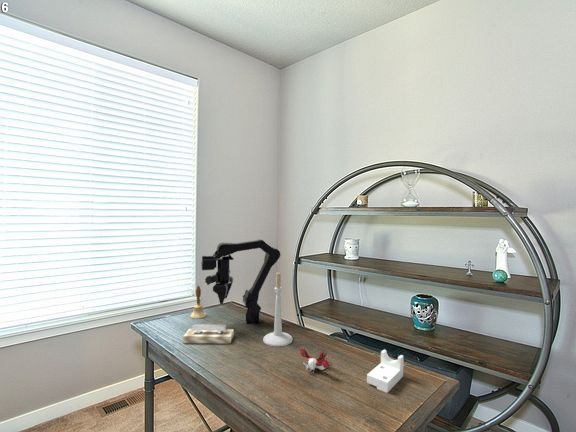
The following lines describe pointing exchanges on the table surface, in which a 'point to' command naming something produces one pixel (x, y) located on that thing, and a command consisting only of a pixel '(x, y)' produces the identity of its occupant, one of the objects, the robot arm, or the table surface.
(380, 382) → the bracket
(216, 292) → the robot arm
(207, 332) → the maple rail
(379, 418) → the table surface
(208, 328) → the steel clip
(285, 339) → the candlestick
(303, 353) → the figurine
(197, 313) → the hand bell
